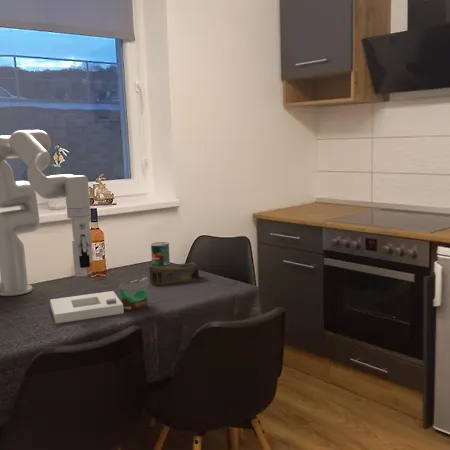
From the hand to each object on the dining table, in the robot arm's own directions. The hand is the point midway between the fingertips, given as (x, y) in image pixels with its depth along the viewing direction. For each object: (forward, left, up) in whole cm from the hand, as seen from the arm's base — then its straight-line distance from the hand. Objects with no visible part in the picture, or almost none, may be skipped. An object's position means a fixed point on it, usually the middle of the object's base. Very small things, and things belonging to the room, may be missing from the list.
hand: (83, 264), depth 185 cm
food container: (+17, -6, -16) cm, 24 cm away
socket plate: (0, 0, -16) cm, 16 cm away
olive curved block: (+38, +23, -17) cm, 47 cm away
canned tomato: (+39, +46, -16) cm, 63 cm away
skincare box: (0, 0, -3) cm, 3 cm away
